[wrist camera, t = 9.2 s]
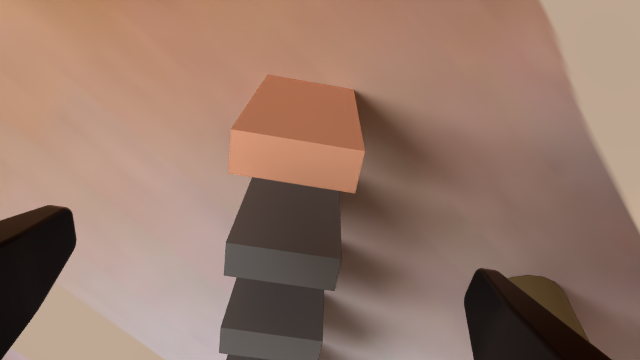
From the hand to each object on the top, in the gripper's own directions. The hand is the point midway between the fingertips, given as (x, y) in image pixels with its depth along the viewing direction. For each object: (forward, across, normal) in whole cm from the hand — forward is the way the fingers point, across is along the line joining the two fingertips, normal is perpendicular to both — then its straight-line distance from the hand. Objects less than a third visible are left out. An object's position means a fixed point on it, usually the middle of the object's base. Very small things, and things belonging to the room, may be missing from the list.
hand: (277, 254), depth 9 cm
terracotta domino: (+13, 0, 0) cm, 13 cm away
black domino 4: (+13, 0, +5) cm, 14 cm away
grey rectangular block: (+13, 0, +9) cm, 16 cm away
